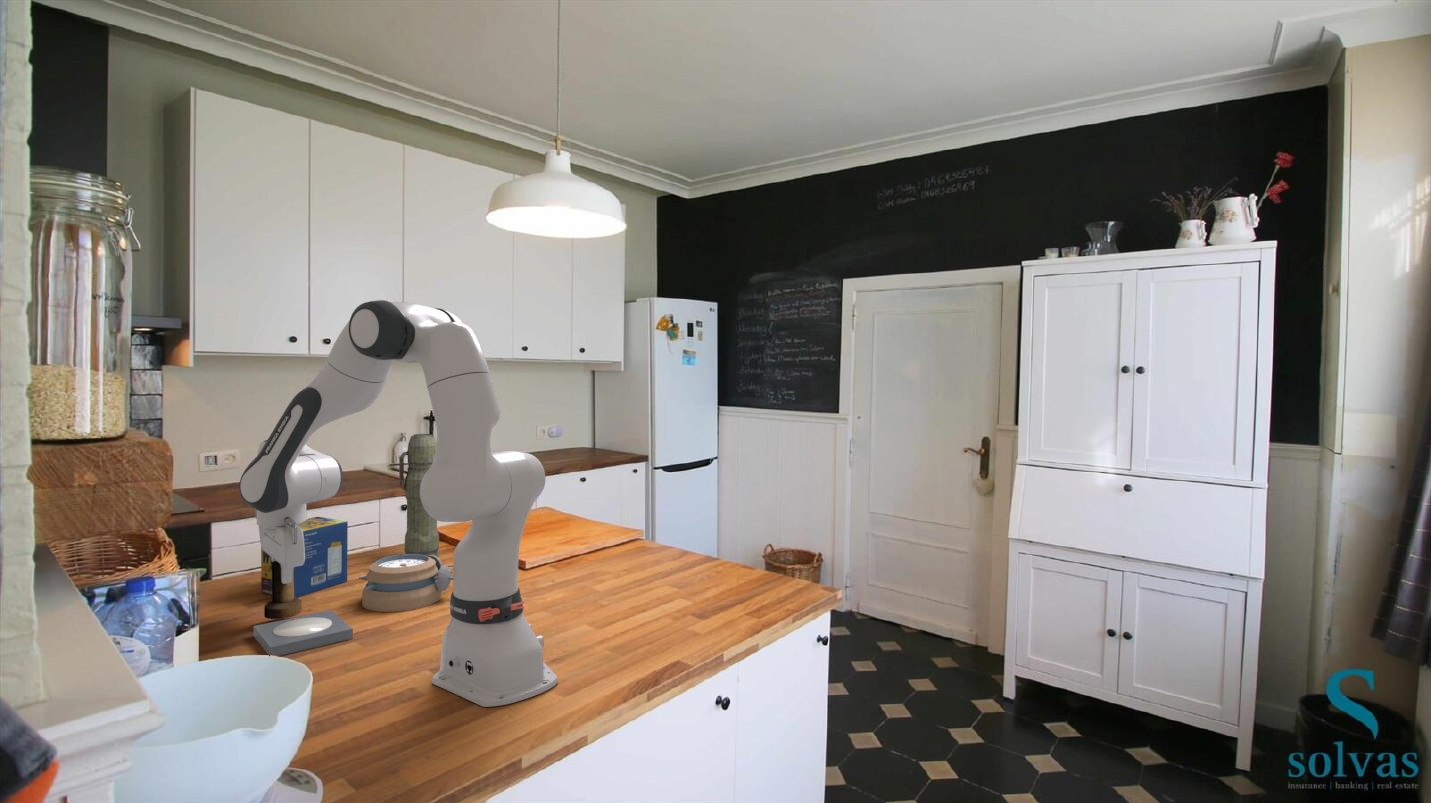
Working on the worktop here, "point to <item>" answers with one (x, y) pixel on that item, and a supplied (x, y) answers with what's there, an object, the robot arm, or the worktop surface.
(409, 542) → the thermos
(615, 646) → the worktop surface
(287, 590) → the brown tall post-shaped piece
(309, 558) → the protein box
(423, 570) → the alarm clock
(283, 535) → the robot arm
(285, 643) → the slate plate
